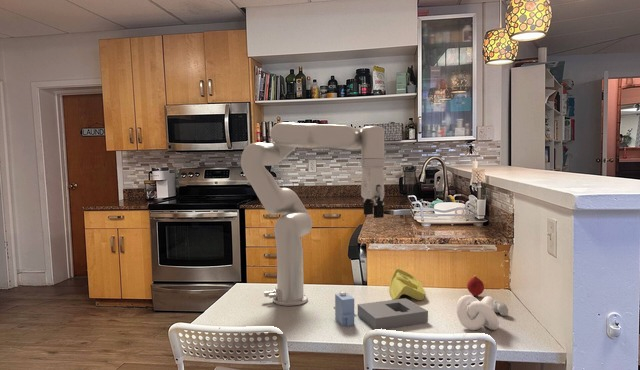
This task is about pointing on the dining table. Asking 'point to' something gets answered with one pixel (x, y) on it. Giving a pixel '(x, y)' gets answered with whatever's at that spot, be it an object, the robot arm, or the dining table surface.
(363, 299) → the dining table surface
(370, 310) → the grey flat block
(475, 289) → the onion
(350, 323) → the block
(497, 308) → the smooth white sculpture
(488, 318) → the white knot
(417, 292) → the plastic component
